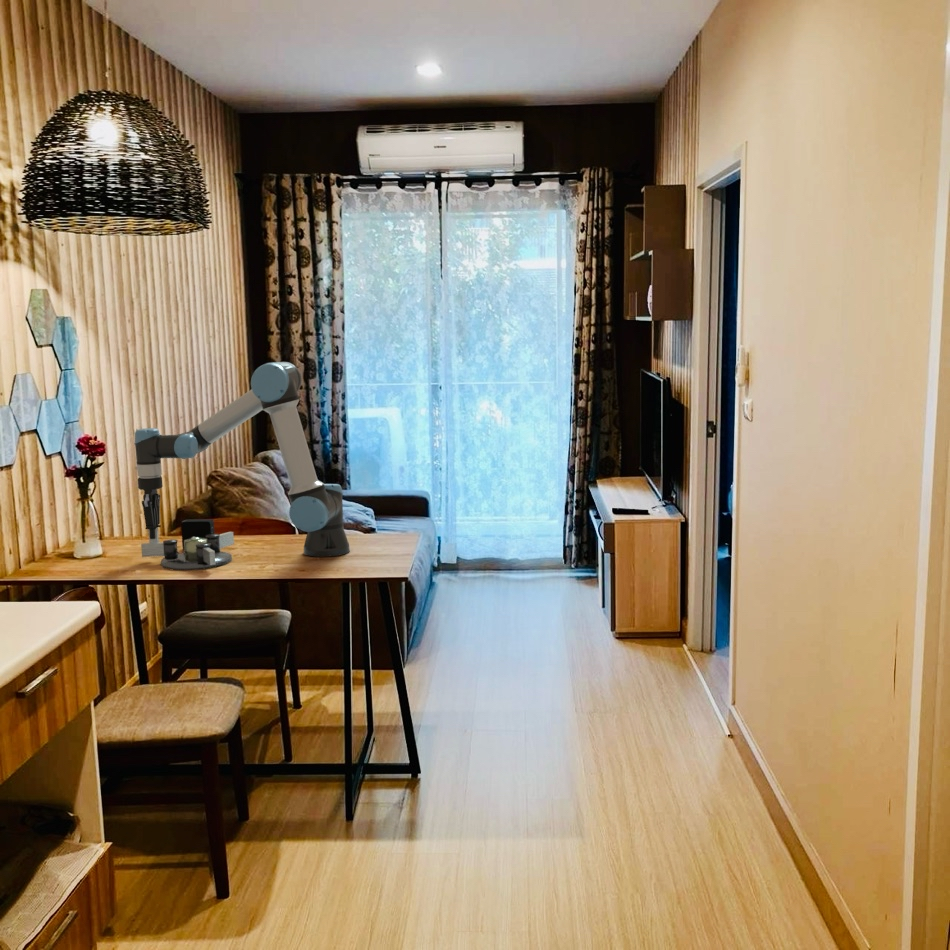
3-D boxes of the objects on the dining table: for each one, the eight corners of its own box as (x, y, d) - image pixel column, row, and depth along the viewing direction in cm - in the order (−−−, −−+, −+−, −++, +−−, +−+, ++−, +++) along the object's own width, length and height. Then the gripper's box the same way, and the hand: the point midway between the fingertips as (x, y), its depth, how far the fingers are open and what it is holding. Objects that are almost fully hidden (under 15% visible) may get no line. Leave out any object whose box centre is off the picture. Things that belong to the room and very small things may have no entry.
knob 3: (214, 554, 315) (213, 537, 315) (203, 553, 317) (202, 536, 317) (237, 547, 325) (236, 530, 324) (227, 546, 327) (226, 529, 326)
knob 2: (195, 561, 305) (193, 544, 305) (208, 559, 308) (207, 542, 307) (205, 568, 296) (204, 550, 295) (220, 566, 298) (218, 548, 298)
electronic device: (211, 550, 328) (210, 521, 327) (182, 550, 329) (180, 521, 327) (215, 547, 333) (213, 518, 331) (186, 547, 333) (184, 519, 331)
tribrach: (246, 557, 316) (244, 532, 315) (198, 573, 297) (196, 546, 296) (195, 551, 326) (193, 527, 325) (145, 566, 307) (144, 540, 306)
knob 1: (179, 556, 313) (178, 539, 312) (176, 559, 309) (175, 542, 308) (144, 557, 313) (143, 540, 312) (140, 560, 308) (139, 543, 308)
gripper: (143, 473, 318) (148, 543, 322) (131, 479, 305) (137, 552, 309) (166, 473, 318) (171, 543, 322) (155, 479, 306) (160, 552, 309)
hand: (154, 547), depth 315 cm, fingers closed
